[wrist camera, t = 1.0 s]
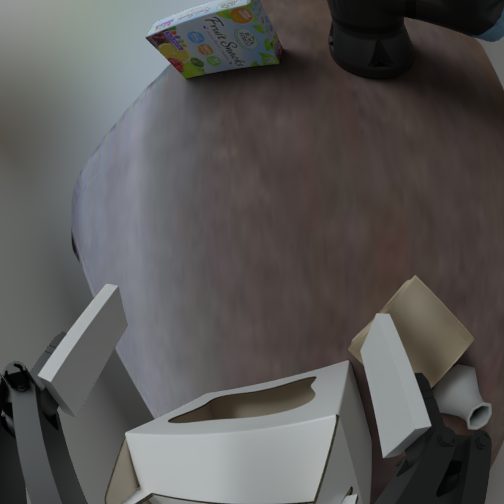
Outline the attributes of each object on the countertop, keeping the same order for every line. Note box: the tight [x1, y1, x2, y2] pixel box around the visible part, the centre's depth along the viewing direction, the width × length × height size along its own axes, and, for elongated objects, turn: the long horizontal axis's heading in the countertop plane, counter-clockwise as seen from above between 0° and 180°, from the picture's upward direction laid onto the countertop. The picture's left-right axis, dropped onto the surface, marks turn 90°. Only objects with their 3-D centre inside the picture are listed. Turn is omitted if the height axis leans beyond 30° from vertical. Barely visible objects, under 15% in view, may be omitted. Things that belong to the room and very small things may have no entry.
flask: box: [433, 364, 492, 430], centre depth 21 cm, size 7×7×10 cm
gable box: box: [105, 360, 372, 504], centre depth 21 cm, size 22×13×28 cm, turn 108°
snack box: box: [146, 0, 283, 79], centre depth 40 cm, size 21×6×15 cm, turn 79°
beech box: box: [348, 275, 474, 388], centre depth 27 cm, size 10×10×6 cm
